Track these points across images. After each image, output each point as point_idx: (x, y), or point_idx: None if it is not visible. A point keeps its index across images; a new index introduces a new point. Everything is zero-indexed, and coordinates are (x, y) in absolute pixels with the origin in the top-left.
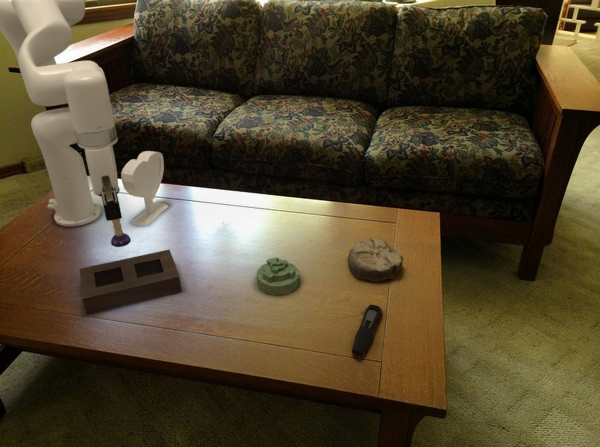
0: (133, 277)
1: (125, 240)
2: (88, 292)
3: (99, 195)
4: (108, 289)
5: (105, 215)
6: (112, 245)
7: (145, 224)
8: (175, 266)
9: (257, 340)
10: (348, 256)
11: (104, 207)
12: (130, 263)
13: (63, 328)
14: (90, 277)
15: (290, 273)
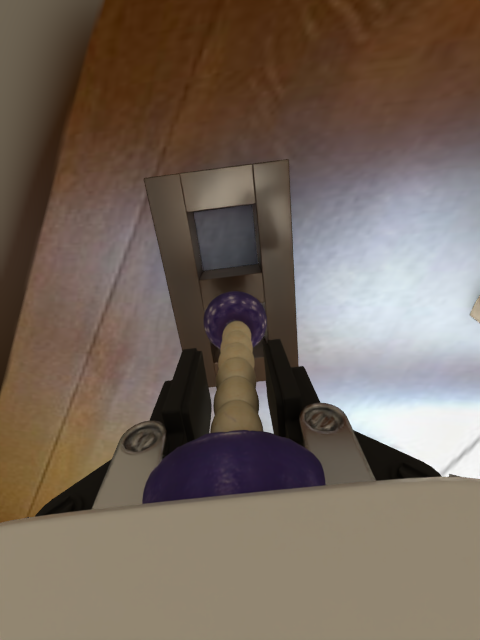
0: (208, 301)
1: (214, 343)
2: (168, 193)
3: (164, 462)
4: (171, 245)
5: (178, 364)
6: (217, 296)
7: (474, 310)
8: None
9: (55, 453)
10: None
11: (166, 402)
12: (269, 295)
13: (115, 128)
14: (235, 195)
15: None
